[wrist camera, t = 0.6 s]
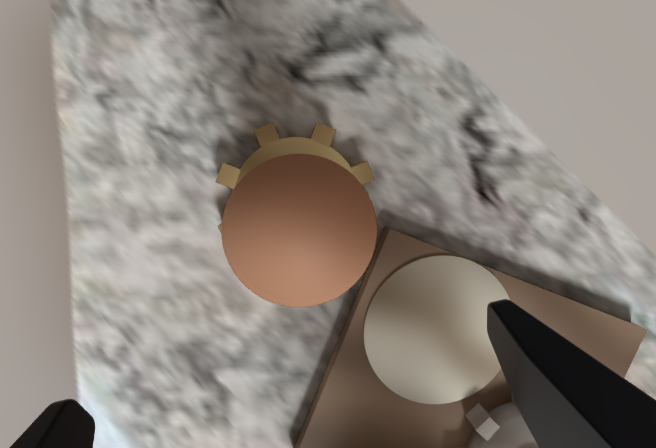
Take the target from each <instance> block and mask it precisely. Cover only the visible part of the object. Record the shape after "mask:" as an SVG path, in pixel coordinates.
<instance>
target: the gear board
mask: <svg viewBox="0 0 656 448" xmlns="http://www.w3.org/2000/svg"><path fill="white" fill-rule="evenodd" d="M502 299H508V300H511V301H512V302H514V303H515V304H517V305H518V306H520V307H521V308H522V309H524V310H525V311H527V312H528V313H530V314H531V315H533V316H534V317H536V318H537V319H538V320H540V321H541V322H543V323H544V324H546V325H547V326H549V327H550V328H551V329H553V330H554V331H556V332H557V333H559V334H560V335H562V336H563V337H565V338H566V339H567V340H569V341H570V342H572V343H573V344H575V345H576V346H578V347H579V348H581V349H582V350H583V351H585V352H586V353H588V354H589V355H591V356H592V357H594V358H595V359H597V360H598V361H599V362H601V363H602V364H604V365H605V366H607V367H608V368H610V369H611V370H613V371H614V372H615V373H617V374H618V375H620V376H621V377H623V378H624V377H625V375H626V373H627V371H628V369H629V367H630V364H631V362H632V360H633V358H634V356H635V354H636V352H637V350H638V348H639V346H640V344H641V342H642V340H643V337H644V335H645V333H646V331H647V329H644V328H642V327H640V326H638V325H635V324H633V323H631V322H628V321H626V320H623V319H621V318H618V317H616V316H613V315H611V314H608V313H605V312H603V311H600V310H598V309H595V308H593V307H590V306H588V305H585V304H582V303H580V302H577V301H575V300H572V299H570V298H567V297H565V296H562V295H560V294H557V293H554V292H552V291H549V290H547V289H544V288H542V287H539V286H537V285H534V284H531V283H529V282H526V281H524V280H521V279H519V278H516V277H514V276H511V275H509V274H506V273H503V272H501V271H498V270H496V269H493V268H491V267H488V266H486V265H483V264H480V263H478V262H475V261H473V260H470V259H468V258H465V257H463V256H460V255H458V254H455V253H452V252H450V251H447V250H445V249H442V248H440V247H437V246H435V245H432V244H429V243H427V242H424V241H422V240H419V239H417V238H414V237H412V236H409V235H407V234H404V233H401V232H399V231H396V230H394V229H391V228H389V227H386V226H385V228H384V230H383V233H382V235H381V237H380V240H379V242H378V245H377V247H376V250H375V252H374V254H373V257H372V259H371V262H370V264H369V267H368V269H367V271H366V274H365V276H364V279H363V281H362V284H361V286H360V288H359V291H358V293H357V296H356V298H355V301H354V303H353V305H352V308H351V310H350V313H349V315H348V318H347V320H346V322H345V325H344V327H343V330H342V332H341V335H340V337H339V340H338V342H337V344H336V347H335V349H334V352H333V354H332V357H331V359H330V361H329V364H328V366H327V369H326V371H325V374H324V376H323V378H322V381H321V383H320V386H319V388H318V391H317V393H316V395H315V398H314V400H313V403H312V405H311V408H310V410H309V412H308V415H307V417H306V420H305V422H304V425H303V427H302V429H301V432H300V434H299V437H298V439H297V442H296V444H295V446H294V448H539V447H538V445H537V443H536V441H535V439H534V438H533V436H532V434H531V432H530V430H529V428H528V426H527V425H526V423H525V421H524V419H523V417H522V415H521V413H520V411H519V409H518V407H517V405H516V403H515V400H514V398H513V396H512V393H511V391H510V388H509V386H508V383H507V381H506V378H505V376H504V374H503V371H502V369H501V366H500V364H499V361H498V359H497V356H496V354H495V352H494V349H493V347H492V344H491V342H490V339H489V336H488V333H487V306H488V304H489V303H490V302H494V301H498V300H502Z"/></svg>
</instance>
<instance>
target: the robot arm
mask: <svg viewBox="0 0 656 448" xmlns="http://www.w3.org/2000/svg"><path fill="white" fill-rule="evenodd" d="M487 333H488V336H489V339H490V342H491V344H492V347H493V349H494V352H495V354H496V356H497V359H498V361H499V364H500V366H501V369H502V371H503V374H504V376H505V378H506V381H507V383H508V386H509V388H510V391H511V393H512V396H513V398H514V400H515V403H516V405H517V407H518V409H519V411H520V413H521V415H522V417H523V419H524V421H525V423H526V425H527V426H528V428H529V430H530V432H531V434H532V436H533V438H534V439H535V441H536V443H537V445H538V447H539V448H656V400H655V399H653V398H652V397H650V396H649V395H647V394H646V393H645V392H643V391H642V390H640V389H639V388H637V387H636V386H634V385H633V384H631V383H630V382H629V381H627V380H626V379H624V378H623V377H621V376H620V375H618V374H617V373H615V372H614V371H613V370H611V369H610V368H608V367H607V366H605V365H604V364H602V363H601V362H599V361H598V360H597V359H595V358H594V357H592V356H591V355H589V354H588V353H586V352H585V351H583V350H582V349H581V348H579V347H578V346H576V345H575V344H573V343H572V342H570V341H569V340H567V339H566V338H565V337H563V336H562V335H560V334H559V333H557V332H556V331H554V330H553V329H551V328H550V327H549V326H547V325H546V324H544V323H543V322H541V321H540V320H538V319H537V318H536V317H534V316H533V315H531V314H530V313H528V312H527V311H525V310H524V309H522V308H521V307H520V306H518V305H517V304H515V303H514V302H512V301H511V300H508V299H502V300H498V301H494V302H490V303H489V304H488V306H487ZM94 433H95V422H94V419H93V417H92V416H91V415H90V414H89V413H88V412H87V411H86V410H85V409H84V408H83V407H82V406H81V405H80V404H79V403H78V402H77V401H75V400H73V399H66V400H62V401H58V402H54V403H52V404H50V405H49V406H48V407H47V408H46V409H45V410H44V411H43V412H42V414H41V415H40V416H39V417H38V418H37V419H36V420H35V421H34V422H33V423H32V424H31V425H30V427H28V429H27V430H26V431H25V432H24V433H23V434H22V435H21V436H20V437H19V438H18V439H17V440H16V442H14V444H13V445H12V446H11V447H10V448H93V441H94Z"/></svg>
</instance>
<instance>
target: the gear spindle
mask: <svg viewBox="0 0 656 448" xmlns="http://www.w3.org/2000/svg"><path fill="white" fill-rule="evenodd" d="M335 132H336V129H333V128H331V127H328V126H326V125H324V124H321V123H319V122H317V123H316V126H315V128H314V131H313V133H312V136H311V139H310V138H304V137H288V138H282V139H280V138H279V135H278V133H277V131H276V129H275V126H274V124H273V122H272V123H269V124H267V125H265V126H262V127H260V128H258V129H256V130H254V133H255V135H256V137H257V139H258V142H259V144H260V146H261V148H259V149H258V150H256V151H255V152H254V153H253V154H252V155H251V156H250V157H249V158H248V159H247V160H246V161H245V162H244V164H243V165H242V167H241V168H238V167H236V166H233V165H231V164H228V163H222V166H221V169H220V172H219V174H218V177H217V180H216V183H219V184H222V185H224V186H227V187H229V188H232V189H233V190H232V193H231V195H230V197H229V199H228V201H227V203H226V206H225V210H224V213H223V219H222V223H221V224H220V225H219V226H218V228H219V230H220V232H221V234H222V243H223V248H224V252H225V255H226V258H227V260H228V263H229V265H230V266H231V268H232V270H233V272H234V273H235V274H236V276H237V277H238V278H239V280H240V281H241V282H242V283H243V284H244V285H245V286H246V287H247V288H248V289H250V290H251V291H252V292H253V293H255V294H256V295H258V296H260V297H261V298H263V299H265V300H268V301H270V302H272V303H276V304H279V305H283V306H289V307H308V306H315V305H319V304H323V303H325V302H328V301H331V300H333V299H335V298H336V297H338V296H340V295H342V294H343V293H344V292H346V291H347V290H349V289H350V288H351V287H352V286H353V285H354V284H355V283H356V282H357V281H358V280H359V278H360V277H361V276H362V275H363V273H364V272H365V270H366V268H367V267H368V265H369V263H370V261H371V258H372V255H373V252H374V249H375V244H376V237H377V223H376V216H375V211H374V208H373V205H372V202H371V200H370V198H369V196H368V194H367V192H366V190H365V189H364V187H363V186H362V185H364V184H366V183H368V182H371V181H373V180H375V179H374V176H373V174H372V171H371V169H370V166H369V164H368V162H367V161H363V162H360V163H358V164H356V165H354V166H351V167H350V165H349V164H348V162H347V161H346V160H345V159H344V158H343V157H342V156H341V155H340V154H339V153H338V152H337V151H336V150H334V149H333V148H331V147H330V145H331V142H332V140H333V137H334V135H335Z"/></svg>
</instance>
